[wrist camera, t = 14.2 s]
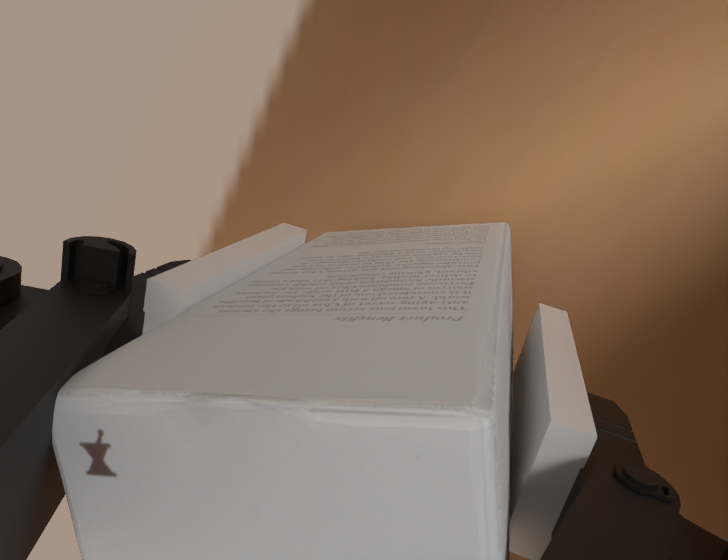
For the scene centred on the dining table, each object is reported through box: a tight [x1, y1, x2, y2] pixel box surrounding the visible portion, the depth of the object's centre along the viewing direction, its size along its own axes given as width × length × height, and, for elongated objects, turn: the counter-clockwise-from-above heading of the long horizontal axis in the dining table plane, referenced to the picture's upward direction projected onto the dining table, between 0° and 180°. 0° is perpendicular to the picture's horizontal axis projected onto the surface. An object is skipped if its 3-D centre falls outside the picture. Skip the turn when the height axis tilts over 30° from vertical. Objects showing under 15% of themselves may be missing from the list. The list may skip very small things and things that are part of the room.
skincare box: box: [52, 222, 513, 560], centre depth 13 cm, size 6×4×12 cm
